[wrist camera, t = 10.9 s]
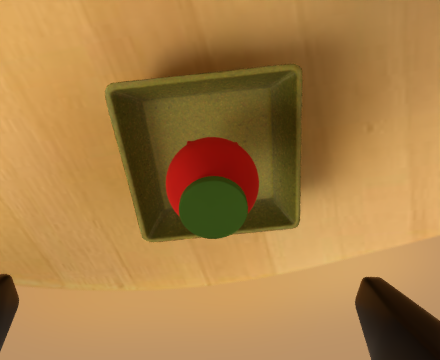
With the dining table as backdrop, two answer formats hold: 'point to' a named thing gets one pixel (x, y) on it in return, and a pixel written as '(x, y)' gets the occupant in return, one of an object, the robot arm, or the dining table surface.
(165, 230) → the green shallow tray
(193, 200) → the strawberry
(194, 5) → the dining table surface
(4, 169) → the dining table surface
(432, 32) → the dining table surface
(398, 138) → the dining table surface
